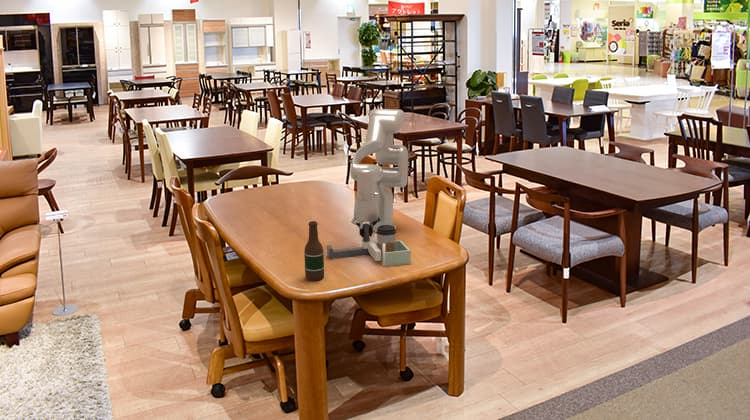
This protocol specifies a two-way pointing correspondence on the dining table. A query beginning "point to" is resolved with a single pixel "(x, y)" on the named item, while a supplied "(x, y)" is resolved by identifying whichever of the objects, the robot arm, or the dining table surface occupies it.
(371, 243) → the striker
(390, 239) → the coffee cup
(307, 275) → the beer bottle
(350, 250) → the rail
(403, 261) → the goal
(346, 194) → the dining table surface
